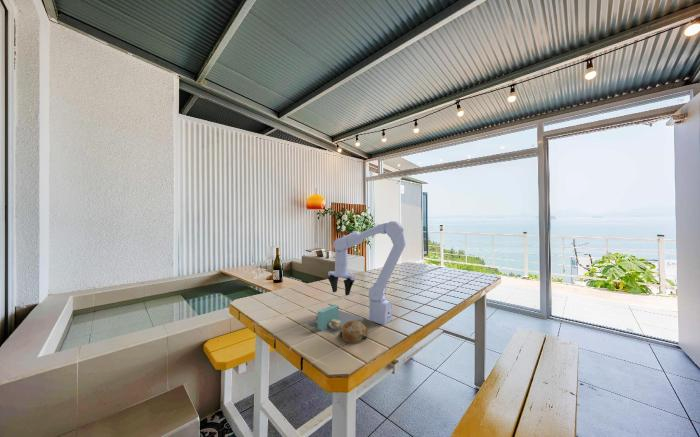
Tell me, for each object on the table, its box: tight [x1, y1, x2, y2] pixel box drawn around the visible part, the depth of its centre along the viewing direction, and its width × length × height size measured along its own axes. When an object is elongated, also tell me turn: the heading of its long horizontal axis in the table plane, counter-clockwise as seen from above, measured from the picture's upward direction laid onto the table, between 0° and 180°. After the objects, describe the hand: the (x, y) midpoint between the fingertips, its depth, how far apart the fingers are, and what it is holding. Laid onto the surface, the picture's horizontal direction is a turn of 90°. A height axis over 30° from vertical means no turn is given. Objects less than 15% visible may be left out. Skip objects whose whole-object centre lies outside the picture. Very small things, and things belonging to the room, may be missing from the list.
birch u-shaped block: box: [315, 314, 341, 330], centre depth 100 cm, size 12×2×3 cm, turn 53°
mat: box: [305, 310, 364, 335], centre depth 105 cm, size 16×20×1 cm
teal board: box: [317, 304, 340, 331], centre depth 100 cm, size 2×10×7 cm, turn 143°
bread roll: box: [338, 320, 369, 344], centre depth 90 cm, size 10×10×8 cm
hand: (341, 293), depth 113 cm, fingers open, 7 cm apart
